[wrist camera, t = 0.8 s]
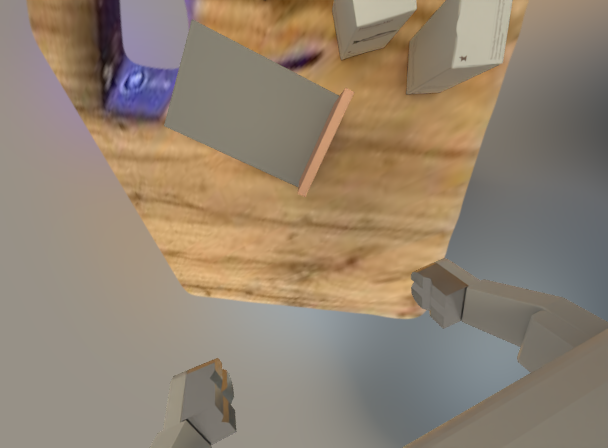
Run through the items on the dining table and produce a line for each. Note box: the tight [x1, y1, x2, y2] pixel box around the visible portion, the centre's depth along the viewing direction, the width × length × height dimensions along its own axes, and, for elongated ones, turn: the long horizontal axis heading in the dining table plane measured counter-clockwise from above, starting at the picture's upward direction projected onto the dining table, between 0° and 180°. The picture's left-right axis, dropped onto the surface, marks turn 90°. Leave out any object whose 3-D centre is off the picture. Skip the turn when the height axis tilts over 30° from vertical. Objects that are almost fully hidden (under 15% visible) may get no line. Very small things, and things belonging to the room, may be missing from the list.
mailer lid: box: [164, 20, 354, 197], centre depth 31 cm, size 22×14×11 cm, turn 65°
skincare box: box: [406, 0, 513, 94], centre depth 34 cm, size 8×6×15 cm
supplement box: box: [332, 0, 417, 60], centre depth 33 cm, size 7×7×13 cm
